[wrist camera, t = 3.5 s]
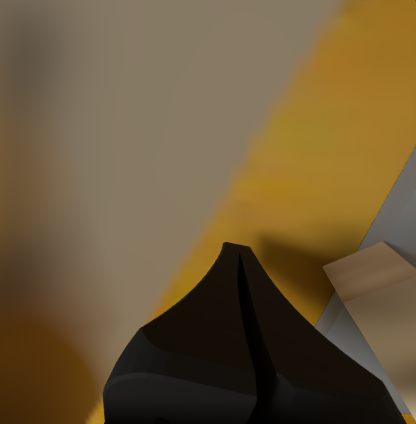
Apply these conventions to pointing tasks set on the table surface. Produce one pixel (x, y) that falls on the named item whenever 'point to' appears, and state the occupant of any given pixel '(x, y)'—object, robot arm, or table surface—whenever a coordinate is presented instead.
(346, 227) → the table surface
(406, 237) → the stool seat
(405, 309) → the stool leg
